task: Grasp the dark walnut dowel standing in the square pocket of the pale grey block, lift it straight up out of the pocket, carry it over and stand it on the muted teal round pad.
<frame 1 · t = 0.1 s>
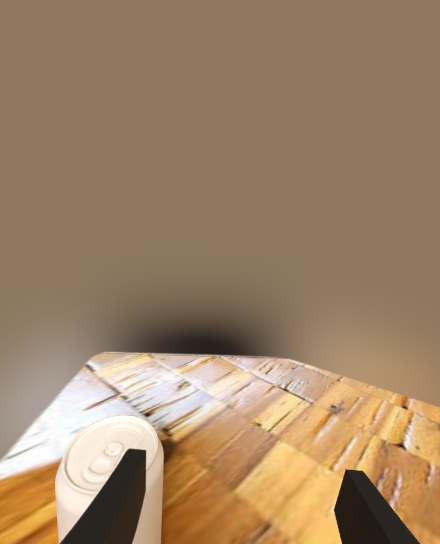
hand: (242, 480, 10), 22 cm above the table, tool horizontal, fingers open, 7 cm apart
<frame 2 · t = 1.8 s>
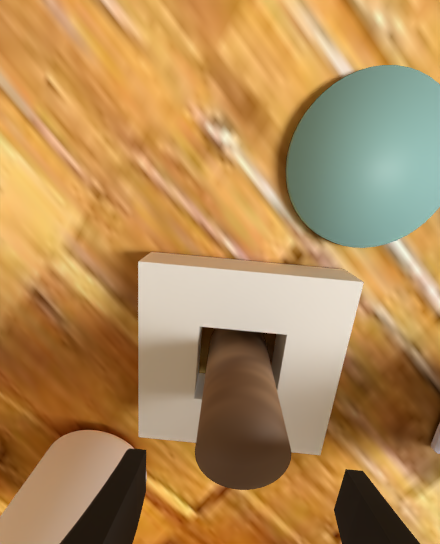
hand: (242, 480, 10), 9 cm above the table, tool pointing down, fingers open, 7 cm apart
walnut dowel: (239, 385, 14), in the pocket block
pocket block: (237, 345, 18), on the table
teal pad: (367, 165, 15), on the table
beverage can: (101, 460, 22), on the table
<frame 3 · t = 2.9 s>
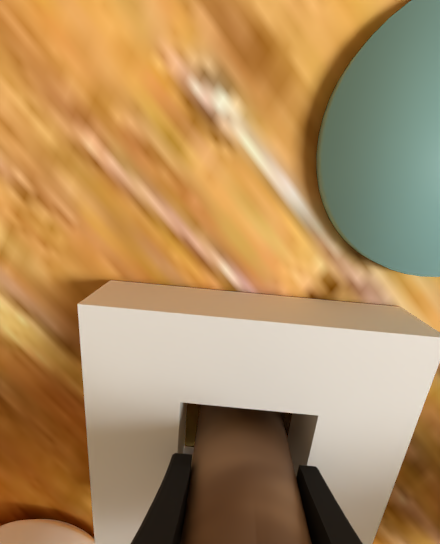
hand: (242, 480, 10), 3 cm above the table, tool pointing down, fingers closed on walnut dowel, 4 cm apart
walnut dowel: (243, 504, 9), in the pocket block, touching gripper
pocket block: (239, 410, 13), on the table
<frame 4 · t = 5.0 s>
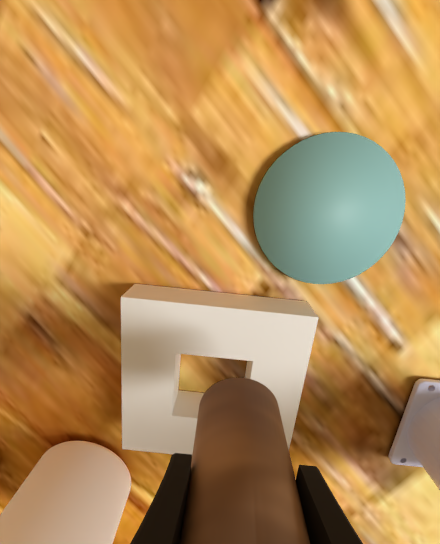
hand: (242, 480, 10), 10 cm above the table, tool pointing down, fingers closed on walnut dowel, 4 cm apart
walnut dowel: (242, 505, 9), point 11 cm above the table, touching gripper
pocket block: (212, 366, 20), on the table
teal pad: (324, 213, 17), on the table
beverage can: (89, 467, 24), on the table
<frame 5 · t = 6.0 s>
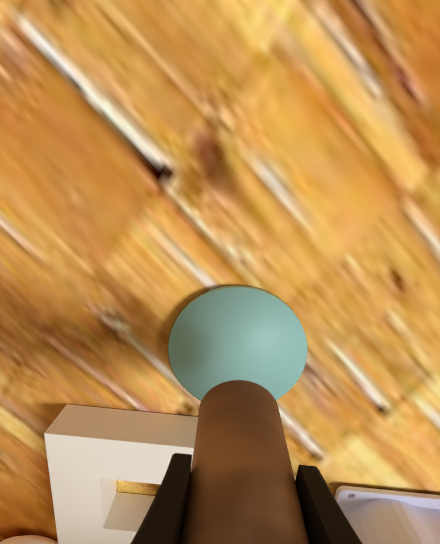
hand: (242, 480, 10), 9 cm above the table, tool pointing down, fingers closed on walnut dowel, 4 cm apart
walnut dowel: (242, 507, 9), point 9 cm above the table, touching gripper
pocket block: (146, 472, 21), on the table
teal pad: (236, 348, 18), on the table
when the fingers open (5 cm above the table, at t = 7.0 s): walnut dowel stays where it is, resting on teal pad.
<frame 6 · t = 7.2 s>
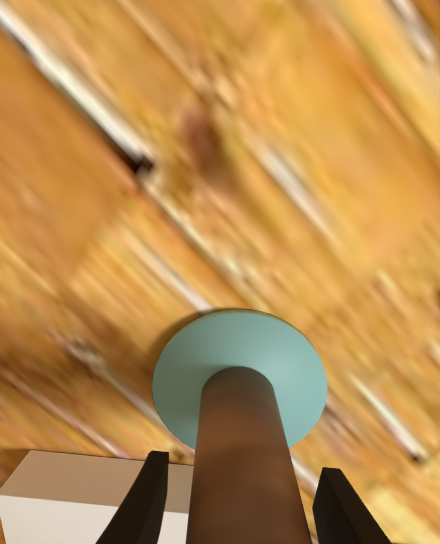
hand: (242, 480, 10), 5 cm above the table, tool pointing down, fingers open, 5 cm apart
walnut dowel: (243, 479, 10), on the teal pad, point 5 cm above the table
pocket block: (129, 527, 18), on the table
teal pad: (238, 386, 14), on the table
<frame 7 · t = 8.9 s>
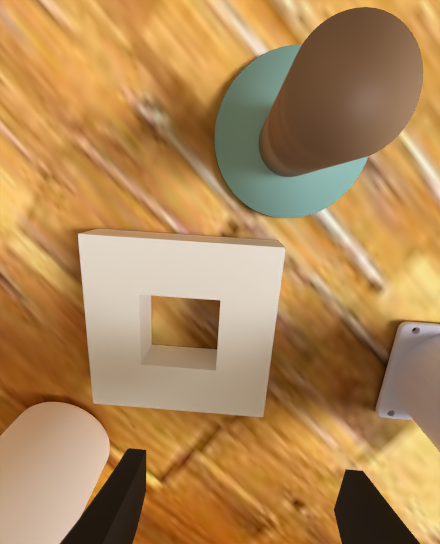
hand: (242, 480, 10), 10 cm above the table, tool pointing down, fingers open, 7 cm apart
walnut dowel: (312, 124, 11), on the teal pad, point 5 cm above the table
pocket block: (185, 316, 19), on the table
teal pad: (290, 140, 16), on the table
beverage can: (68, 432, 23), on the table
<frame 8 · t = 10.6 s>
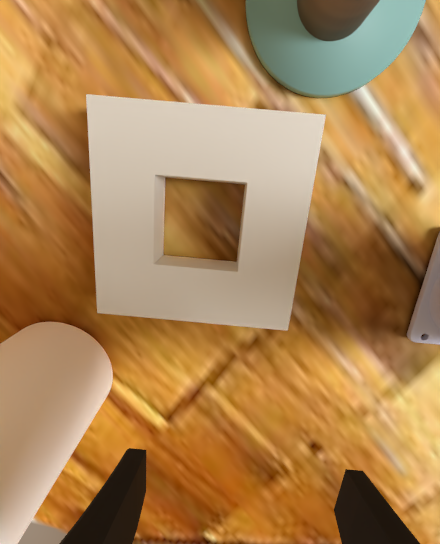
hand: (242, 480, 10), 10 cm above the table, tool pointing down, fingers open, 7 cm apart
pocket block: (202, 221, 17), on the table
beverage can: (66, 362, 21), on the table
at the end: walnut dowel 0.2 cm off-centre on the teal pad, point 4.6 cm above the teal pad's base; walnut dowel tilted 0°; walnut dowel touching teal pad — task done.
